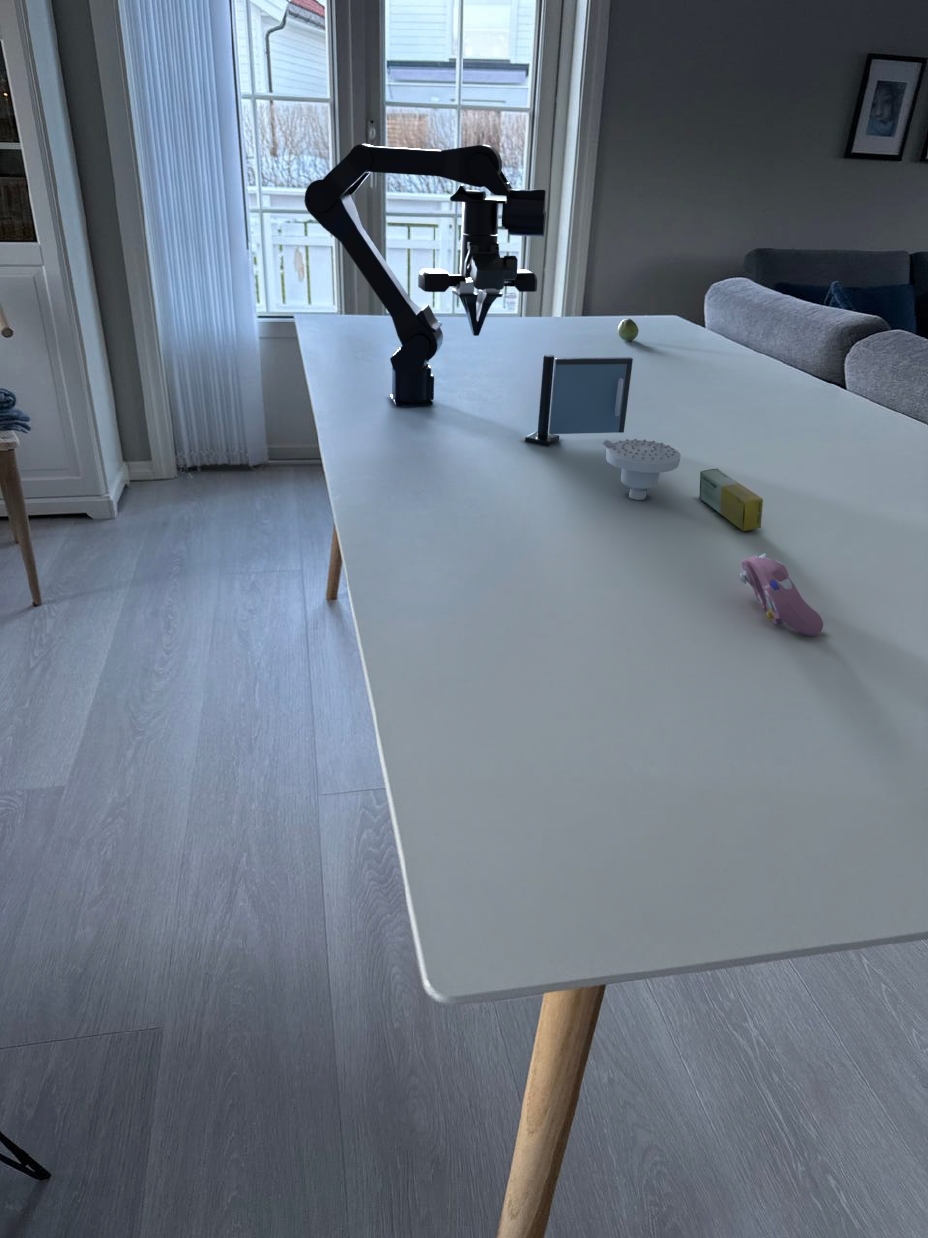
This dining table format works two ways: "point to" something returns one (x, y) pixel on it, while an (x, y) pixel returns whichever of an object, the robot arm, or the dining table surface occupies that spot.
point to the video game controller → (780, 595)
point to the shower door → (590, 395)
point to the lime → (628, 330)
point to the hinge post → (544, 407)
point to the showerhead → (641, 463)
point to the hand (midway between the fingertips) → (475, 335)
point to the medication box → (731, 499)
